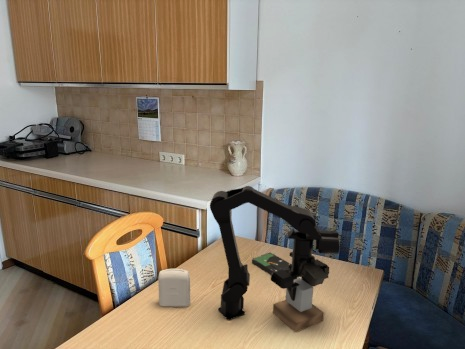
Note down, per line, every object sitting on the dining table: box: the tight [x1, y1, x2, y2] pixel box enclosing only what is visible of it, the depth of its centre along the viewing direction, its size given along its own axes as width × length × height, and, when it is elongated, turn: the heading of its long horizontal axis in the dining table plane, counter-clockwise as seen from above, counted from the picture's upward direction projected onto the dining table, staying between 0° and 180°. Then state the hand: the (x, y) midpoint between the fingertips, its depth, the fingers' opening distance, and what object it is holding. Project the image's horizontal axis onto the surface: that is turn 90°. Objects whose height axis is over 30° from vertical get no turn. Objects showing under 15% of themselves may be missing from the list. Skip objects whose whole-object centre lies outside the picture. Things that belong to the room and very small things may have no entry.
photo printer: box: [157, 268, 191, 308], centre depth 115 cm, size 10×4×12 cm, turn 90°
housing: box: [285, 277, 314, 312], centre depth 110 cm, size 7×4×7 cm, turn 31°
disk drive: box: [251, 252, 292, 276], centre depth 143 cm, size 10×3×15 cm
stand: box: [272, 299, 325, 333], centre depth 111 cm, size 11×11×3 cm
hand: (298, 298), depth 110 cm, fingers closed on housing, 4 cm apart
